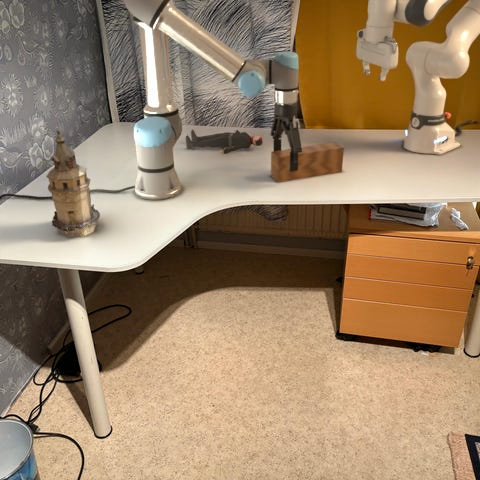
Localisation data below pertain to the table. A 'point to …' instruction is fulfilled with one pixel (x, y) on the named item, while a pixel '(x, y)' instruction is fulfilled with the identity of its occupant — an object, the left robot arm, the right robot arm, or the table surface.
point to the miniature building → (70, 193)
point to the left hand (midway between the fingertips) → (285, 163)
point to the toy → (224, 141)
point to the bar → (307, 162)
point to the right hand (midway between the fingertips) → (374, 77)
